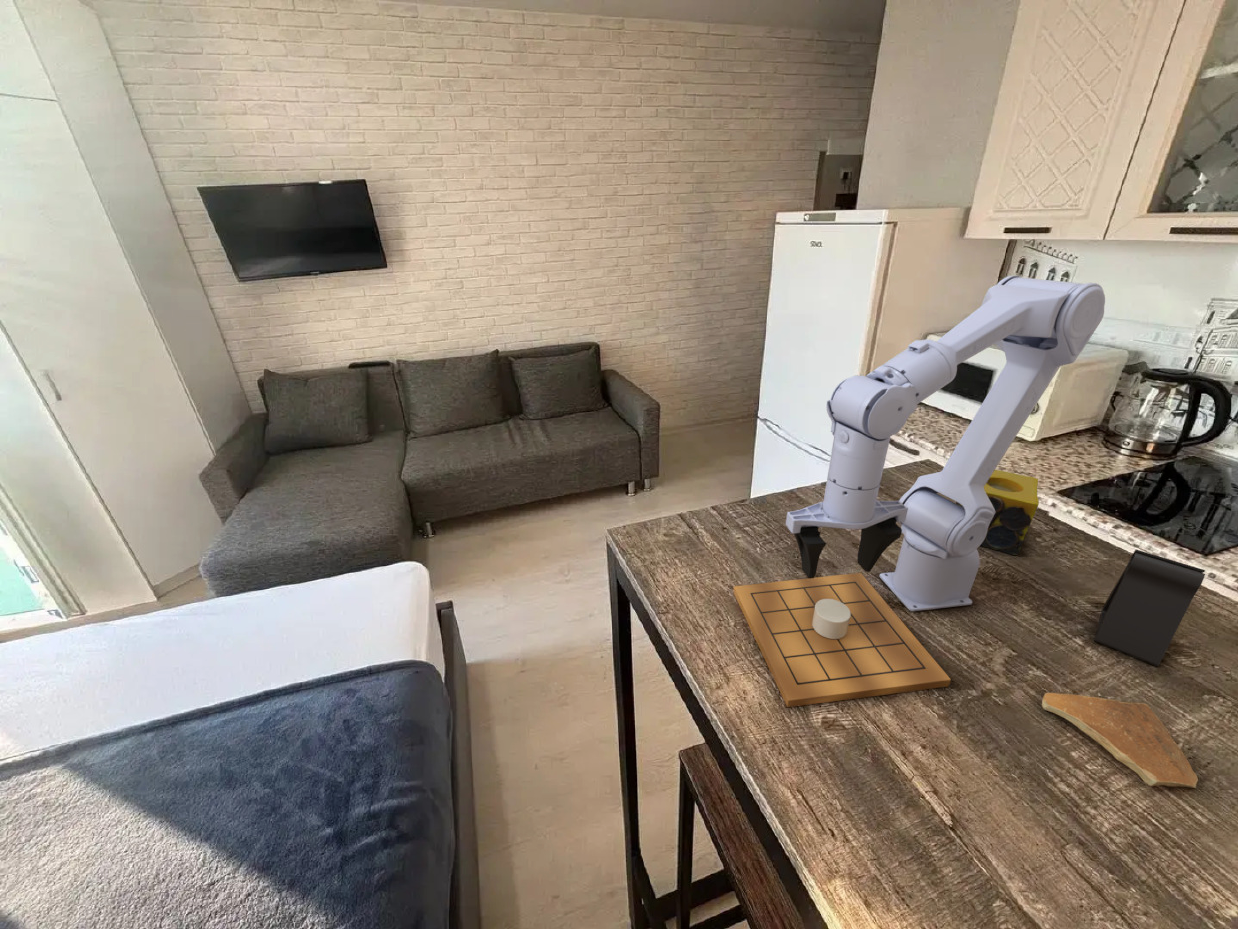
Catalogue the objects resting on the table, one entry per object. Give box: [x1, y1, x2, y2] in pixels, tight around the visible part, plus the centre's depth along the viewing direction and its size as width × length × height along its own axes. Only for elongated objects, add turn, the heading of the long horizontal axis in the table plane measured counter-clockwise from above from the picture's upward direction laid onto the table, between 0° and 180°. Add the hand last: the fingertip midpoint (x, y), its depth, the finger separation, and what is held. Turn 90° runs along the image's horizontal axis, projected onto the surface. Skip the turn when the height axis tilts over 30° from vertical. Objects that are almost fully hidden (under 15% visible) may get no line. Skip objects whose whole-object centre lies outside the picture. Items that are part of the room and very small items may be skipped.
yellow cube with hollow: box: [955, 469, 1040, 556], centre depth 86 cm, size 10×10×10 cm
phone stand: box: [1093, 549, 1206, 667], centre depth 64 cm, size 9×6×12 cm, turn 134°
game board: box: [733, 572, 952, 708], centre depth 68 cm, size 20×20×1 cm
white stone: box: [812, 599, 851, 639], centre depth 67 cm, size 4×4×3 cm
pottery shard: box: [1041, 692, 1199, 789], centre depth 53 cm, size 10×9×2 cm
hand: (836, 570), depth 66 cm, fingers open, 7 cm apart
